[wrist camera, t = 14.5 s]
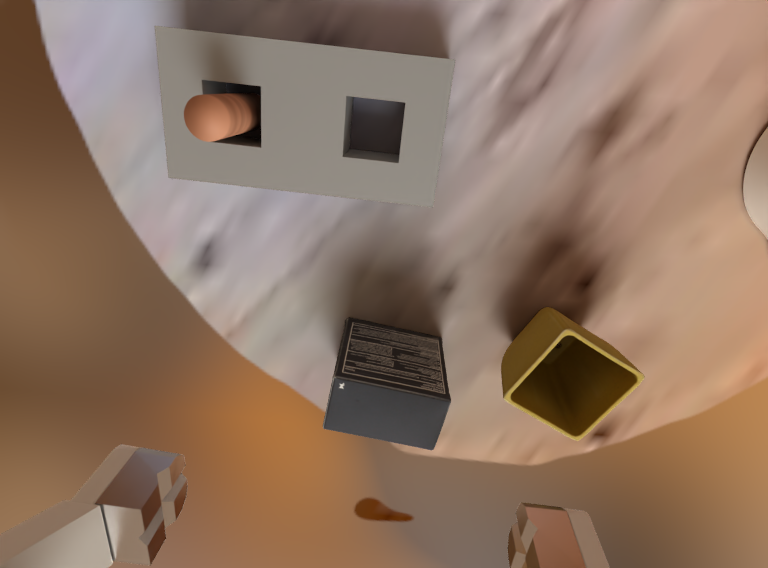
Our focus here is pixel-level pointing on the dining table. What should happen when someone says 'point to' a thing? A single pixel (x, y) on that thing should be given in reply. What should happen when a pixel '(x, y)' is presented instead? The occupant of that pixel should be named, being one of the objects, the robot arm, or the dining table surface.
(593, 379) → the flower pot
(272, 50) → the hole block
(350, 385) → the small box
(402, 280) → the dining table surface
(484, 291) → the dining table surface
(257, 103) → the peg
